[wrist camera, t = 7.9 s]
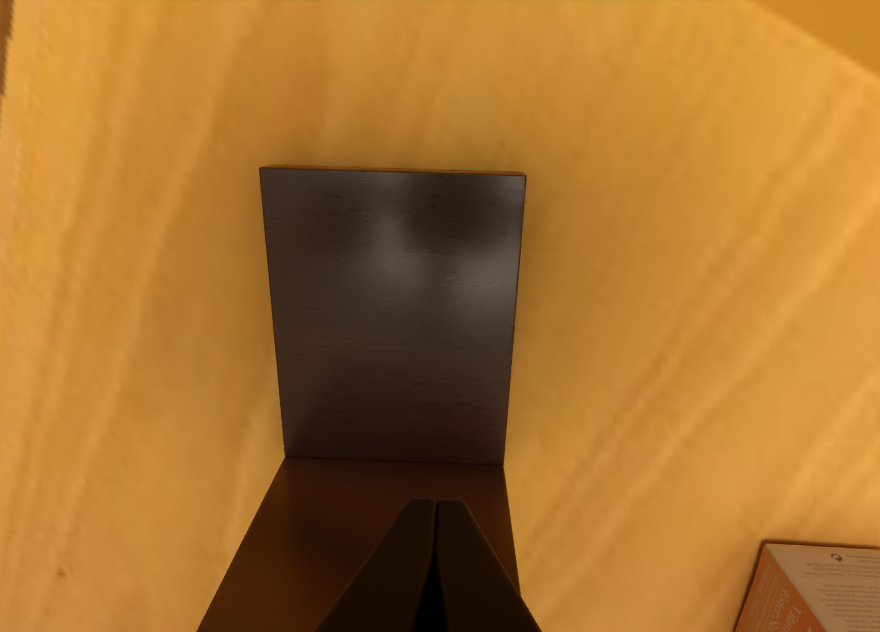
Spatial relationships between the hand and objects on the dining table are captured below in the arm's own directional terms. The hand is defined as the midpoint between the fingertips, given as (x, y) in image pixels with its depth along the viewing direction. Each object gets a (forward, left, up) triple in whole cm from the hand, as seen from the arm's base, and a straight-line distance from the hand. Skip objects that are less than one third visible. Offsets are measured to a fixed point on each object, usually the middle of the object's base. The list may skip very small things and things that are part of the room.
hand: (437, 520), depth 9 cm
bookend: (-7, -5, -7) cm, 10 cm away
